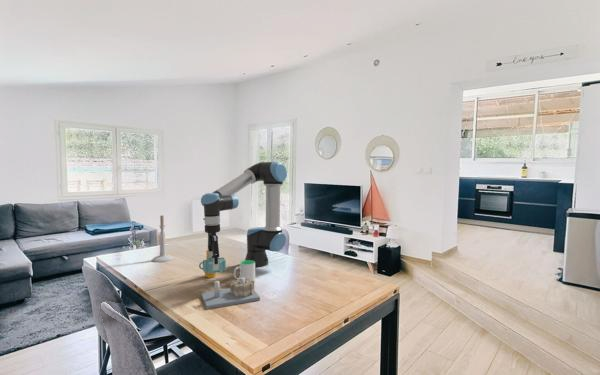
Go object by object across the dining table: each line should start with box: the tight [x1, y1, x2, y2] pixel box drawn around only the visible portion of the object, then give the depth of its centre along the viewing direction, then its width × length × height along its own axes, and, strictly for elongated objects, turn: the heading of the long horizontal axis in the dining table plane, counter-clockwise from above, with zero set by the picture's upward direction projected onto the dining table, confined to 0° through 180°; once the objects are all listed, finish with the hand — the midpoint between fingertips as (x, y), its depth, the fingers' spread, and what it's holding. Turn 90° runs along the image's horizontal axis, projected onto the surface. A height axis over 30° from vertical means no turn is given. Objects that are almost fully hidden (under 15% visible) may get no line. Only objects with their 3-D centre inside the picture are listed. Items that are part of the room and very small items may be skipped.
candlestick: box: [152, 214, 174, 263], centre depth 220 cm, size 13×13×30 cm
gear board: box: [200, 278, 261, 310], centre depth 156 cm, size 24×17×8 cm
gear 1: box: [202, 257, 227, 274], centre depth 168 cm, size 11×11×5 cm
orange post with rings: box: [198, 249, 217, 279], centre depth 187 cm, size 12×10×15 cm
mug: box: [233, 259, 256, 283], centre depth 178 cm, size 12×8×10 cm, turn 128°
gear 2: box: [229, 279, 255, 297], centre depth 159 cm, size 11×11×5 cm
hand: (213, 266), depth 168 cm, fingers closed on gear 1, 11 cm apart
